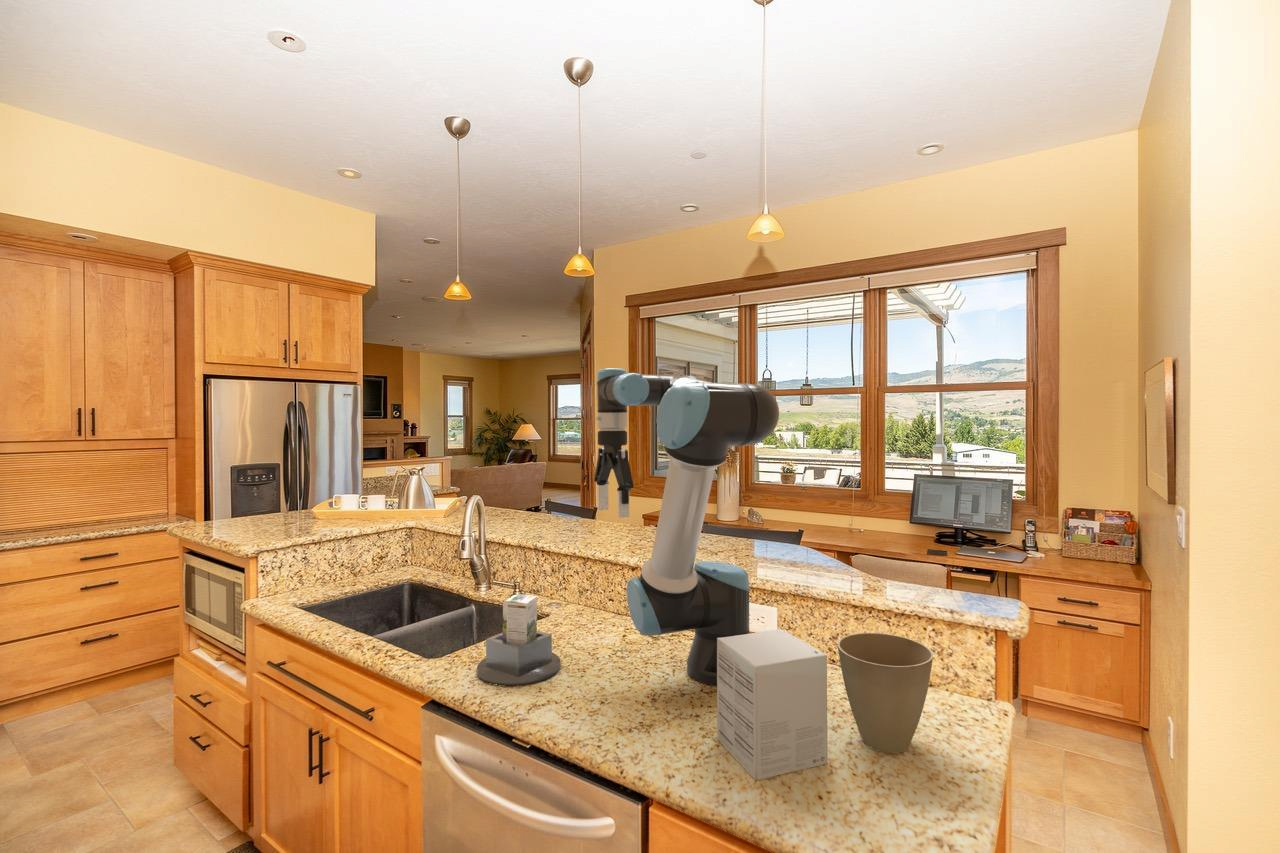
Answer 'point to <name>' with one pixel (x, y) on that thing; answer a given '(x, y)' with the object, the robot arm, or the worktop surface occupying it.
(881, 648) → the plant pot
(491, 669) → the duct collar
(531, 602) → the syrup box
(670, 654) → the worktop surface
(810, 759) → the supplement box
